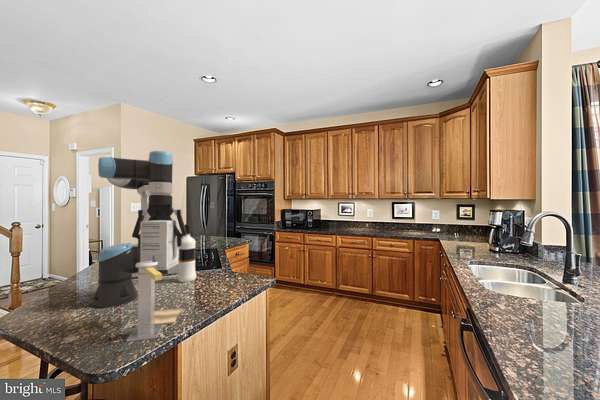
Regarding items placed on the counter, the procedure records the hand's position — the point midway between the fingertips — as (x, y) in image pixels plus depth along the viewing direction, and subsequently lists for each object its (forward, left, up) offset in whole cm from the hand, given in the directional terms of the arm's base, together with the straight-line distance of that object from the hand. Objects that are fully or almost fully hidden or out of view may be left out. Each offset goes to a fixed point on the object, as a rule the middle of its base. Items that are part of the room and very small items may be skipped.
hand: (160, 256), depth 92 cm
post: (+11, -1, -22) cm, 25 cm away
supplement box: (0, 0, -4) cm, 4 cm away
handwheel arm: (+15, +1, -3) cm, 16 cm away
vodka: (-47, +1, -22) cm, 52 cm away
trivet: (0, 0, -22) cm, 22 cm away
